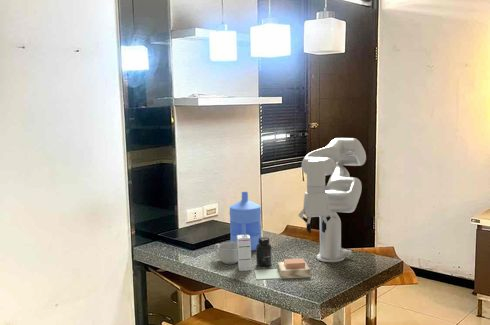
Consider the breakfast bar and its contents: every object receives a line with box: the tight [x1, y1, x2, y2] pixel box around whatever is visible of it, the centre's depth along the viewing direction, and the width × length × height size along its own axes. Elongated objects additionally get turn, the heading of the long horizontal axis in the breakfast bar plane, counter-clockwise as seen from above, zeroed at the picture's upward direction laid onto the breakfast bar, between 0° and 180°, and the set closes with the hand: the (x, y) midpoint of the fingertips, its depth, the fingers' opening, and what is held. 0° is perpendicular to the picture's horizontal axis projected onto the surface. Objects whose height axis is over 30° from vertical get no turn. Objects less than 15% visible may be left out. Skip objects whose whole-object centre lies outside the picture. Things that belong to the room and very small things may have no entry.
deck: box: [277, 260, 311, 279], centre depth 208 cm, size 12×11×3 cm
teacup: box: [213, 241, 238, 265], centre depth 226 cm, size 14×11×8 cm
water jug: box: [229, 191, 262, 252], centre depth 246 cm, size 16×16×28 cm
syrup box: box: [237, 235, 253, 272], centre depth 215 cm, size 6×6×14 cm
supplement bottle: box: [255, 236, 273, 268], centre depth 220 cm, size 7×7×12 cm
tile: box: [283, 257, 306, 268], centre depth 208 cm, size 8×6×2 cm
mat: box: [253, 268, 311, 281], centre depth 208 cm, size 22×11×1 cm, turn 94°
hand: (316, 231), depth 207 cm, fingers open, 5 cm apart
